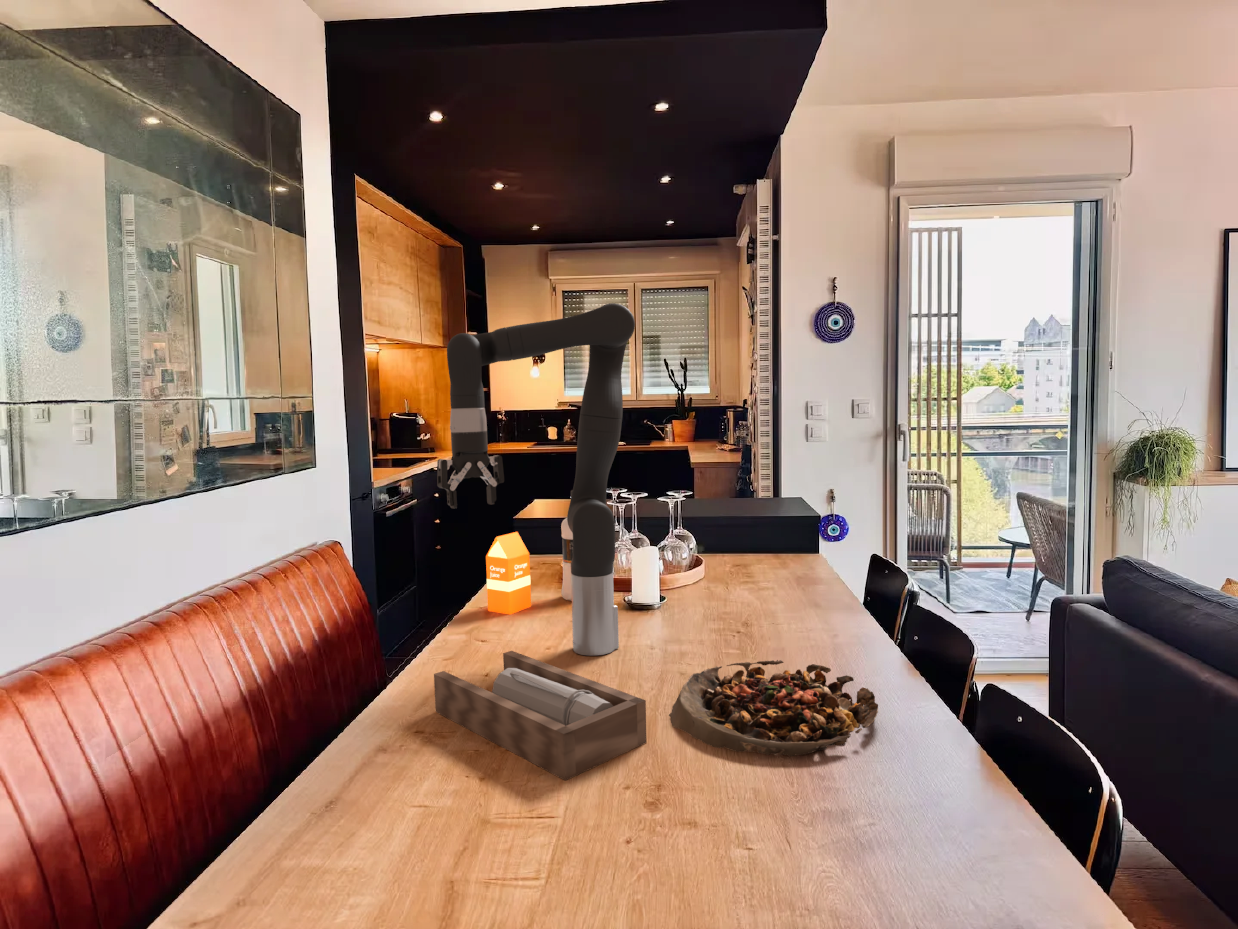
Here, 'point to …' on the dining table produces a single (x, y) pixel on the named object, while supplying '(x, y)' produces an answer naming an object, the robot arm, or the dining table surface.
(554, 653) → the dining table surface
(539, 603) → the dining table surface
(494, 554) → the orange juice
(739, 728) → the food dish
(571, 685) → the bottle rest
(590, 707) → the water bottle
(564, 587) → the vodka
